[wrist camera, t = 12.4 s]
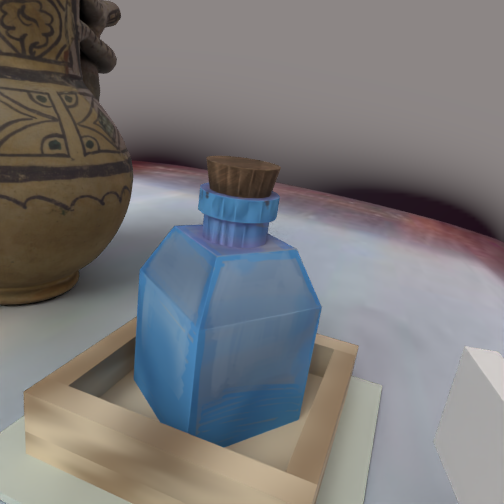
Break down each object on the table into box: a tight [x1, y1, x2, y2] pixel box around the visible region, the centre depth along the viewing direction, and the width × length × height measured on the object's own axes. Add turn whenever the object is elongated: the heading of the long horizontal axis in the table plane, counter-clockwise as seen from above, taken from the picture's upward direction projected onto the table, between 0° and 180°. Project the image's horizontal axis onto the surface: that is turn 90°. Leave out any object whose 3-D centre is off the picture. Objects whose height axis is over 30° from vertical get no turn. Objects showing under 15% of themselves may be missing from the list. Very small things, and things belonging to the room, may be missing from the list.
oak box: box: [24, 317, 359, 504], centre depth 22 cm, size 12×12×3 cm
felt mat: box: [0, 376, 382, 504], centre depth 23 cm, size 16×16×1 cm
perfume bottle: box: [134, 156, 322, 448], centre depth 21 cm, size 6×6×12 cm
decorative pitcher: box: [0, 0, 133, 304], centre depth 32 cm, size 22×18×25 cm
